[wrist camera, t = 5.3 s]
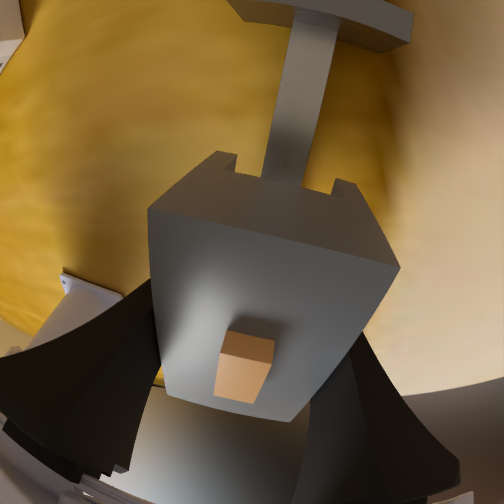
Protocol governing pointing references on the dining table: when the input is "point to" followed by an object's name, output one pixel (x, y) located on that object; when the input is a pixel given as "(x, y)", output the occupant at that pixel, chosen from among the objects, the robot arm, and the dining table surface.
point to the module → (260, 286)
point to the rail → (316, 65)
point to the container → (9, 30)
